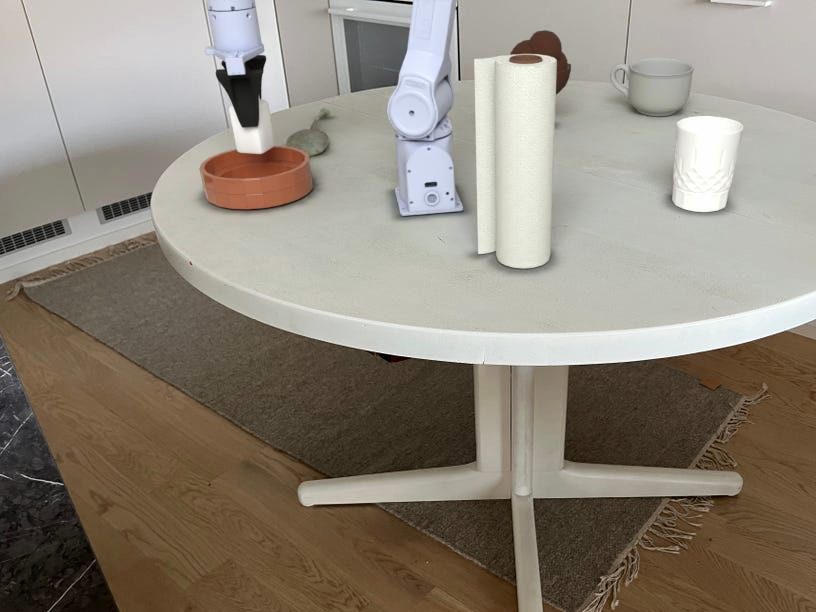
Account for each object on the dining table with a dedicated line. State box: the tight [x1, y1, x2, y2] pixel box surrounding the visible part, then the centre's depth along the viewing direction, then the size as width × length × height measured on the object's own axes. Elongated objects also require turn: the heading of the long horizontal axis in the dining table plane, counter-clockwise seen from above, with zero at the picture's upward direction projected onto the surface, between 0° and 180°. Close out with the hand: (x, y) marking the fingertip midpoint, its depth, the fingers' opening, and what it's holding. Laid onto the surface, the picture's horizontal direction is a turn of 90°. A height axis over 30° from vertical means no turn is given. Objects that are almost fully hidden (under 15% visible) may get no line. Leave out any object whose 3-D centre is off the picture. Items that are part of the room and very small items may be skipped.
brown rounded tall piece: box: [509, 29, 572, 96], centre depth 128 cm, size 11×11×15 cm
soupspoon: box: [285, 107, 331, 157], centre depth 129 cm, size 22×3×7 cm
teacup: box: [609, 57, 695, 117], centre depth 136 cm, size 14×11×8 cm
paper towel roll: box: [473, 54, 557, 269], centre depth 83 cm, size 7×6×21 cm
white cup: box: [671, 115, 744, 213], centre depth 99 cm, size 8×8×10 cm
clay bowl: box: [198, 145, 314, 210], centre depth 107 cm, size 14×14×4 cm
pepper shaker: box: [228, 97, 276, 154], centre depth 103 cm, size 4×4×10 cm
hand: (251, 120), depth 103 cm, fingers closed on pepper shaker, 5 cm apart
